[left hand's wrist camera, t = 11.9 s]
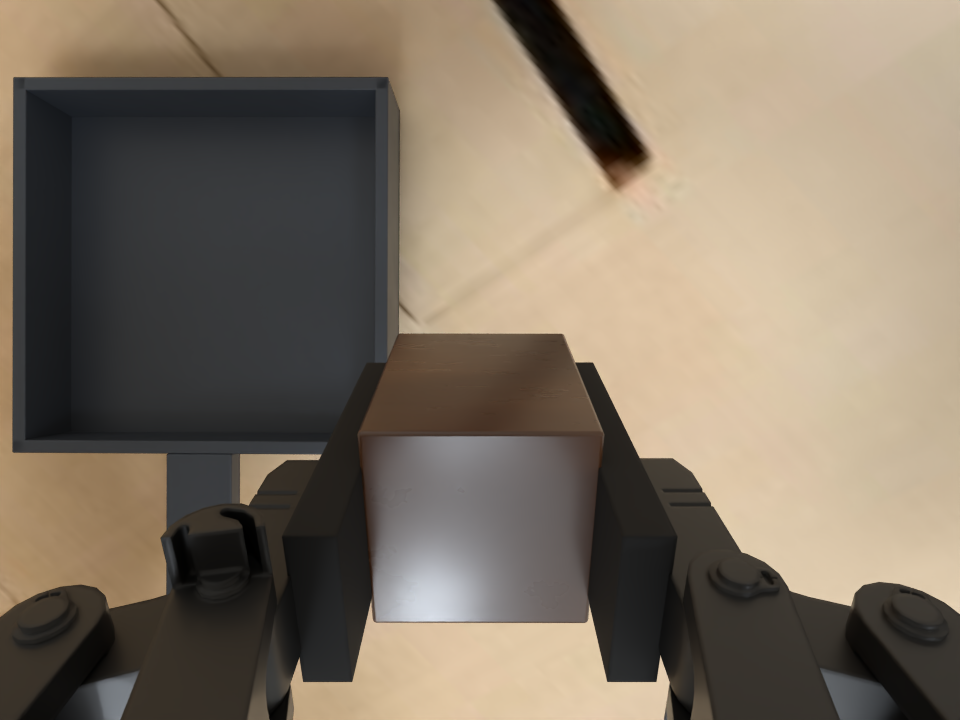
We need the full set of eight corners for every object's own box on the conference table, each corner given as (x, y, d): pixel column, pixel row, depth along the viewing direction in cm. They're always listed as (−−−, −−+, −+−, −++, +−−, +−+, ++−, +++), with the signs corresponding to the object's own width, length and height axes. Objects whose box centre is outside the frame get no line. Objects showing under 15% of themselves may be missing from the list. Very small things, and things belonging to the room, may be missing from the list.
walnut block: (564, 333, 14) (605, 432, 9) (556, 476, 16) (588, 624, 11) (397, 332, 14) (356, 432, 9) (404, 476, 16) (372, 624, 11)
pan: (399, 109, 30) (365, 12, 22) (397, 672, 30) (362, 795, 22) (68, 109, 31) (-95, 12, 22) (67, 668, 31) (-97, 789, 22)
